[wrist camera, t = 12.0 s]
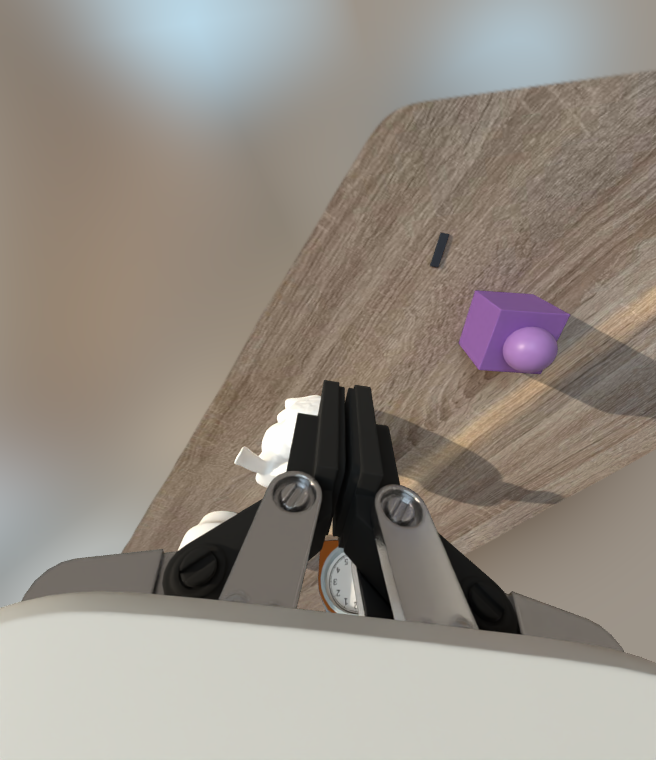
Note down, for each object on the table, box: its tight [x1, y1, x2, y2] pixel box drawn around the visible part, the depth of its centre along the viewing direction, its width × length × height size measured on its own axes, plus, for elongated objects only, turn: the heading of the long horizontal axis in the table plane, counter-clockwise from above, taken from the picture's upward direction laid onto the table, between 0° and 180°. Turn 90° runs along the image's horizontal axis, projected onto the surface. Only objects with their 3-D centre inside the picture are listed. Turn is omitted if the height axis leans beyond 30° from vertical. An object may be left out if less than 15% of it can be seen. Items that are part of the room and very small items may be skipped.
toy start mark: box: [430, 233, 449, 267], centre depth 29 cm, size 3×1×1 cm, turn 171°
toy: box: [459, 290, 570, 374], centre depth 29 cm, size 6×6×9 cm
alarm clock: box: [318, 540, 359, 616], centre depth 52 cm, size 15×8×14 cm, turn 100°
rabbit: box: [234, 395, 321, 488], centre depth 35 cm, size 12×9×12 cm
